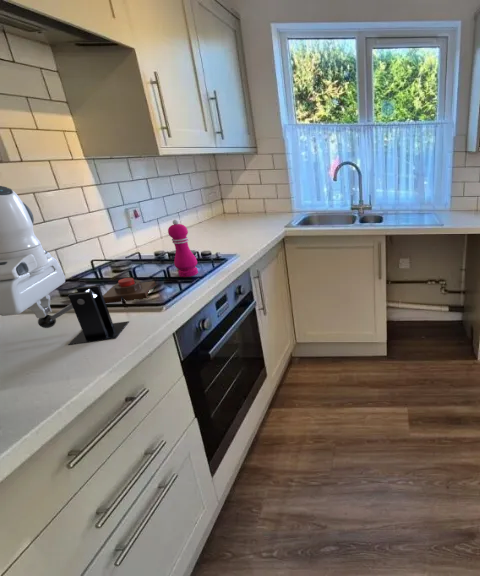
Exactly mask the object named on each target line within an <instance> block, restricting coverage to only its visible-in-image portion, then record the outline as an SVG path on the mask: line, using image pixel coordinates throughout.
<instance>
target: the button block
mask: <svg viewBox="0 0 480 576" xmlns="http://www.w3.org/2000/svg"><path fill="white" fill-rule="evenodd" d="M134 282H135V284H133V285H130V286H125V287H120V286H119V283H118V282H117V283H116V284H114V285H112V286H111V287H110V288H109V289H108V290H107V291H106V292H105V293H104V294H102V295H103V297H104V300H105V303H106V304H114V303H121V297H123V298H124V299H125V300H126V301H125V302H129V301H135V300H134V299H139V300H144V299H143V298H147V295H148V292H149V290H150V289H152V288H153V287H154V286H156V287H157V285H156V282H155V280H153V281H144V282H141V280H139V279H134ZM147 299H148V298H147Z"/></svg>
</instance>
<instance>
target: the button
mask: <svg viewBox="0 0 480 576" xmlns="http://www.w3.org/2000/svg"><path fill="white" fill-rule="evenodd" d="M134 280H135V279H134V278H133V277H124V278H121V279H119V280H118V282H117V283H119V286H120V287H125V286H130V285H133V284H135V282H134Z"/></svg>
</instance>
